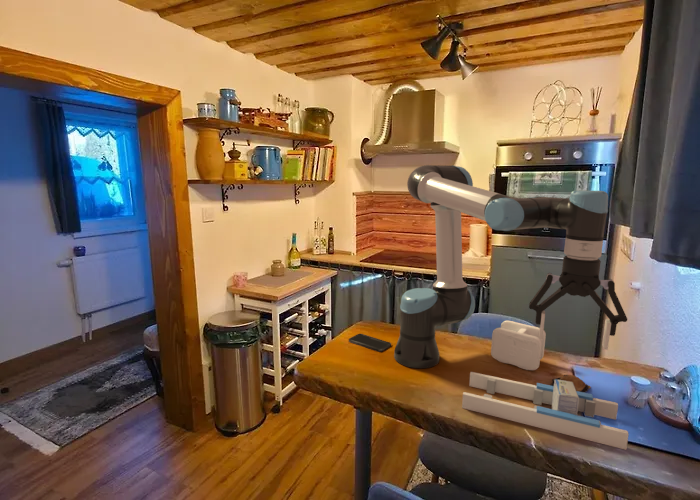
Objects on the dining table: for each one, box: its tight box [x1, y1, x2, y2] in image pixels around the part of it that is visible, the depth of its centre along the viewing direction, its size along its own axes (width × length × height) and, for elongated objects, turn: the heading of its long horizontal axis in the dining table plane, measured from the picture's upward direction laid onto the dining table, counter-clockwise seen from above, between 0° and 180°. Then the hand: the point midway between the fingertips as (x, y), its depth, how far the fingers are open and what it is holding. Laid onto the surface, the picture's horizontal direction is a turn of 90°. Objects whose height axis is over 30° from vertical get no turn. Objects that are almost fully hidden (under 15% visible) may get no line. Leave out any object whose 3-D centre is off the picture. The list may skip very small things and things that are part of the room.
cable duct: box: [461, 371, 629, 451], centre depth 98 cm, size 36×14×5 cm, turn 64°
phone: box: [348, 333, 392, 353], centre depth 141 cm, size 8×1×15 cm
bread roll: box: [549, 374, 592, 393], centre depth 111 cm, size 11×8×4 cm
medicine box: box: [551, 378, 579, 415], centre depth 95 cm, size 8×4×9 cm, turn 159°
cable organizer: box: [490, 320, 547, 371], centre depth 126 cm, size 15×11×12 cm
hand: (571, 342), depth 93 cm, fingers open, 13 cm apart
